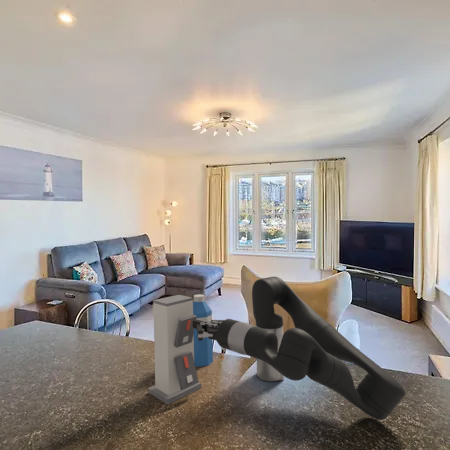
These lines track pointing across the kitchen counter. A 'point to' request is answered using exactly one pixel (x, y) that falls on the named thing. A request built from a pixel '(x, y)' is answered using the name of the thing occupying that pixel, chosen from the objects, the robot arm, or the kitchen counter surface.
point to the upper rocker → (184, 331)
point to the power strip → (170, 347)
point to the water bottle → (204, 347)
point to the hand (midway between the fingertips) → (194, 323)
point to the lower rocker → (186, 370)
